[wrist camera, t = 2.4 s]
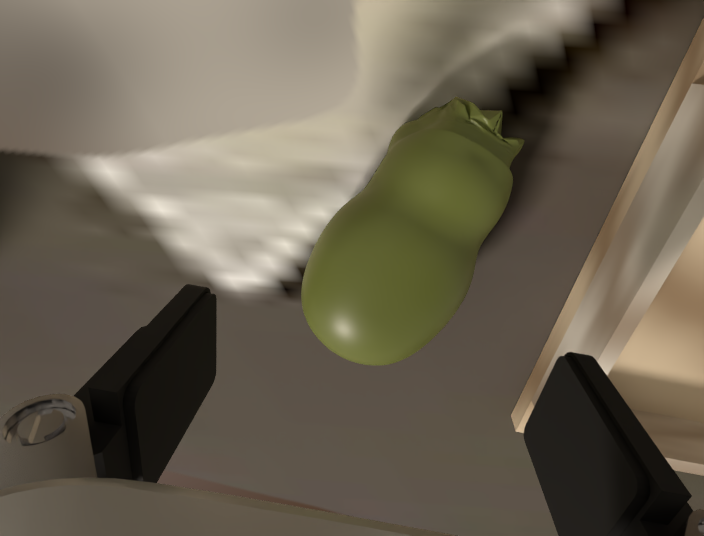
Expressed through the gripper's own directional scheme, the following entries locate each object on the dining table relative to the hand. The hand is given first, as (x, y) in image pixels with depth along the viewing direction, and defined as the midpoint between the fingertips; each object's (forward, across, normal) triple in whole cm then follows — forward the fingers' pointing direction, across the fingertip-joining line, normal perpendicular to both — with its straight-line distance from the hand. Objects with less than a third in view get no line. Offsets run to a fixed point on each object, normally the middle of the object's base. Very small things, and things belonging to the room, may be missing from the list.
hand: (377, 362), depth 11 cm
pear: (+7, -1, -2) cm, 8 cm away
